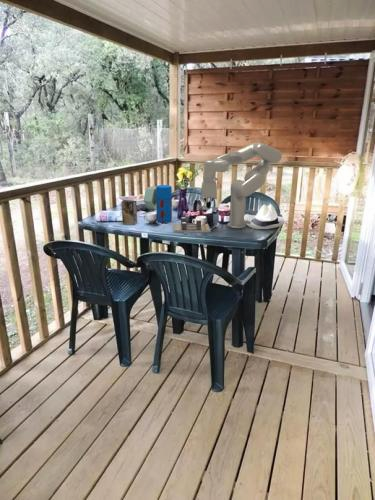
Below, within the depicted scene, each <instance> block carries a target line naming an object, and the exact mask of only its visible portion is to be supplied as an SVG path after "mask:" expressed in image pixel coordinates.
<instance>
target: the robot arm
mask: <svg viewBox="0 0 375 500" xmlns="http://www.w3.org/2000/svg"><path fill="white" fill-rule="evenodd" d="M255 157H259V158H260V161H259V163H258V164H257V165H256V166H254V167H253V168H252V169H251V170H249V171H248V172H247V173H245V175H244V177H243V180H242V179H235V180H233V181H232V182H231V184H230V188H229V189H230V212H229V213H230V214H229V222H228V223H227V227H229V228H233V229H243V228H246V226H247V224H249V225H250V224H251V223H252V222H251V220H245V209H246V198H247V197H249V196H251V195H252V194H254V193H255V192H257V190H259V189H260V188H262V187H263V185H264V184H265V181H266V175H267V174H268V173H269V171H270V170H271V169H270V168H271V166H272V165H271V164H278V163H279V162H281V159H282V152H281V151H280V150H279V149H277V148H274V147H273V146H272V147H271V146H270V145H267V144H266V143H262V142H253V143H250V144H248V145H246V146H244V147H241V148H239V149H237V150H234V151H232V152H228V153H225V154H222V155H220V156H218V157H216V158H214V159H206V160H204V162H203V164H204V165H203V181H202V183H201V186H200V187H201V188H200V195H201V196H200V200H203V201H205V204H206V205H205V207H206V208H207V209H211V207H212V202H213V201H215V200H217V199H218V187H217V185H218V184H217V181H218V178H217V177H216V175H217V174H216V173H217V172H218V173H226V172H227V171H228V170H229V168H230V165H234V164H235V165H236V164H237V165H238V164H243V163H245V162H247V161H249V160H251V159H253V158H255Z"/></svg>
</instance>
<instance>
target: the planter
mask: <svg viewBox="0 0 375 500" xmlns="http://www.w3.org/2000/svg"><path fill="white" fill-rule="evenodd" d="M156 186H157V185H156ZM156 186H155V185H153V186H147V187H146V188H145V191H144V197H143V202H144V205H145V207H146V208H147V210H151V211H157V205H156Z"/></svg>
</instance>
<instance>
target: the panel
mask: <svg viewBox="0 0 375 500" xmlns="http://www.w3.org/2000/svg"><path fill="white" fill-rule="evenodd" d="M186 223H187V222H186ZM195 223H196V222H193V223H191V222H189V223H187V229H182V224H181V222H179V223H175V222H174V223H172V229H173V233H177V234H178V233H179V234H181V233H183V234H184V233H187V234H188V233H196V234H197V233H211V228H210V225H209V224H208V223H207V222H206V223H207V224H205V225H201V227H197V226H196V224H195Z"/></svg>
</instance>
